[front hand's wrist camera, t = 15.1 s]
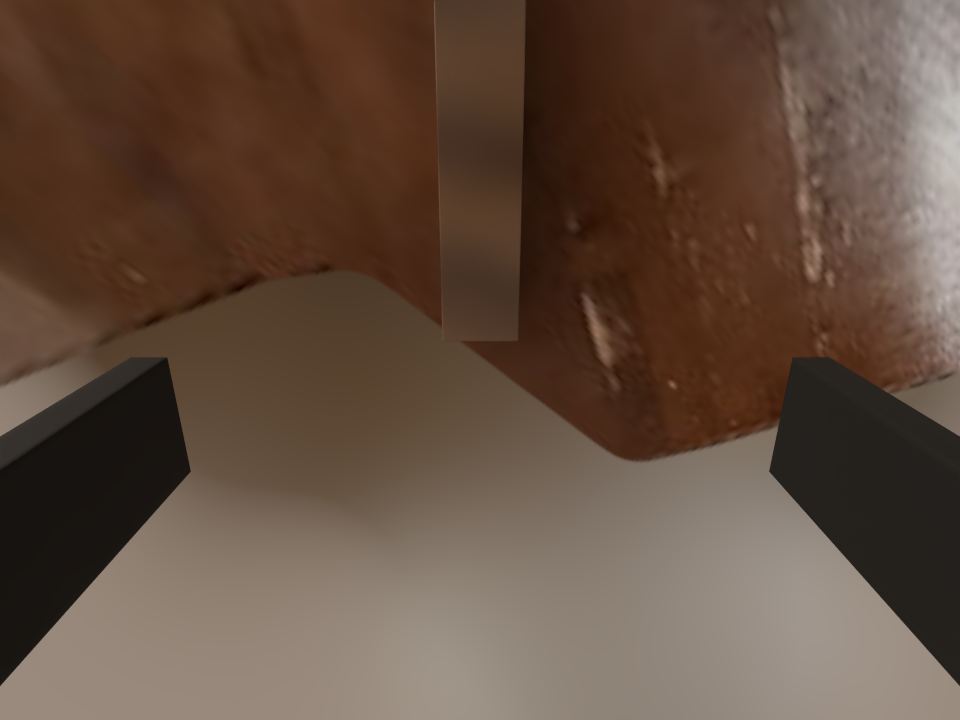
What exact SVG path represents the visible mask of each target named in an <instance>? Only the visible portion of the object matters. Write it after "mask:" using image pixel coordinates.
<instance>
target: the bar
mask: <svg viewBox="0 0 960 720" xmlns="http://www.w3.org/2000/svg"><path fill="white" fill-rule="evenodd" d="M434 31H435V69H436V108H437V146H438V185H439V224H440V262H441V301H442V339H443V341H518V338H519V296H520V254H521V211H522V169H523V127H524V84H525V42H526V0H434Z"/></svg>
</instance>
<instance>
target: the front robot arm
mask: <svg viewBox="0 0 960 720" xmlns="http://www.w3.org/2000/svg"><path fill="white" fill-rule="evenodd" d="M190 472H191V470H190V466H189V461H188V456H187V451H186V446H185V441H184V437H183V432H182V427H181V422H180V417H179V412H178V408H177V403H176V398H175V393H174V388H173V383H172V379H171V374H170V369H169V364H168V359H167V358H129V359H128V360H126V361H124V362H123V363H121V364H119V365H118V366H116V367H114V368H113V369H111V370H109V371H108V372H106V373H104V374H103V375H101V376H99V377H98V378H96V379H94V380H93V381H91V382H89V383H88V384H86V385H85V386H83V387H81V388H80V389H78V390H76V391H75V392H73V393H71V394H70V395H68V396H66V397H65V398H63V399H61V400H60V401H58V402H56V403H55V404H53V405H52V406H50V407H48V408H47V409H45V410H43V411H42V412H40V413H38V414H37V415H35V416H33V417H32V418H30V419H29V420H27V421H25V422H24V423H22V424H20V425H19V426H17V427H15V428H14V429H12V430H10V431H9V432H7V433H5V434H4V435H2V436H0V686H1V684H2V683H3V682H4V681H5V680H6V679H7V678H8V677H9V675H10V674H11V673H12V672H13V671H14V670H15V669H16V668H17V666H18V665H19V664H20V663H21V662H22V661H23V660H24V658H25V657H26V656H27V655H28V654H29V653H30V652H31V651H32V650H33V648H34V647H35V646H36V645H37V644H38V643H39V642H40V641H41V639H42V638H43V637H44V636H45V635H46V634H47V633H48V632H49V630H50V629H51V628H52V627H53V626H54V625H55V624H56V622H57V621H58V620H59V619H60V618H61V617H62V616H63V615H64V614H65V612H66V611H67V610H68V609H69V608H70V607H71V606H72V605H73V603H74V602H75V601H76V600H77V599H78V598H79V597H80V596H81V594H82V593H83V592H84V591H85V590H86V589H87V588H88V586H89V585H90V584H91V583H92V582H93V581H94V580H95V579H96V578H97V576H98V575H99V574H100V573H101V572H102V571H103V570H104V569H105V567H106V566H107V565H108V564H109V563H110V562H111V561H112V560H113V558H114V557H115V556H116V555H117V554H118V553H119V552H120V551H121V549H122V548H123V547H124V546H125V545H126V544H127V543H128V542H129V540H130V539H131V538H132V537H133V536H134V535H135V534H136V532H137V531H138V530H139V529H140V528H141V527H142V526H143V525H144V523H145V522H146V521H147V520H148V519H149V518H150V517H151V516H152V514H153V513H154V512H155V511H156V510H157V509H158V508H159V507H160V505H161V504H162V503H163V502H164V501H165V500H166V499H167V498H168V496H169V495H170V494H171V493H172V492H173V491H174V490H175V489H176V487H177V486H178V485H179V484H180V483H181V482H182V481H183V480H184V478H185V477H186V476H187V475H188V474H189V473H190ZM769 472H770V473H771V474H772V475H773V476H774V477H775V478H776V480H777V481H778V482H779V483H780V484H781V485H782V486H783V487H784V489H785V490H786V491H787V492H788V493H789V494H790V495H791V496H792V498H793V499H794V500H795V501H796V502H797V503H798V504H799V505H800V507H801V508H802V509H803V510H804V511H805V512H806V513H807V514H808V516H809V517H810V518H811V519H812V520H813V521H814V522H815V523H816V525H817V526H818V527H819V528H820V529H821V530H822V531H823V532H824V534H825V535H826V536H827V537H828V538H829V539H830V540H831V542H832V543H833V544H834V545H835V546H836V547H837V548H838V549H839V551H840V552H841V553H842V554H843V555H844V556H845V557H846V558H847V559H848V561H849V562H850V563H851V564H852V565H853V566H854V567H855V569H856V570H857V571H858V572H859V573H860V574H861V575H862V576H863V578H864V579H865V580H866V581H867V582H868V583H869V584H870V585H871V587H872V588H873V589H874V590H875V591H876V592H877V593H878V594H879V595H880V597H881V598H882V599H883V600H884V601H885V602H886V603H887V604H888V606H889V607H890V608H891V609H892V610H893V611H894V612H895V614H896V615H897V616H898V617H899V618H900V619H901V620H902V621H903V623H904V624H905V625H906V626H907V627H908V628H909V629H910V630H911V632H912V633H913V634H914V635H915V636H916V637H917V638H918V639H919V641H920V642H921V643H922V644H923V645H924V646H925V647H926V648H927V650H928V651H929V652H930V653H931V654H932V655H933V656H934V657H935V659H936V660H937V661H938V662H939V663H940V664H941V665H942V666H943V668H944V669H945V670H946V671H947V672H948V673H949V674H950V675H951V677H952V678H953V679H954V680H955V681H956V682H957V683H958V684H959V686H960V436H958V435H956V434H955V433H953V432H951V431H950V430H948V429H946V428H945V427H943V426H941V425H940V424H938V423H937V422H935V421H933V420H932V419H930V418H928V417H927V416H925V415H923V414H922V413H920V412H918V411H917V410H915V409H913V408H912V407H910V406H908V405H907V404H905V403H904V402H902V401H900V400H899V399H897V398H895V397H894V396H892V395H890V394H889V393H887V392H885V391H884V390H882V389H880V388H879V387H877V386H875V385H874V384H872V383H871V382H869V381H867V380H866V379H864V378H862V377H861V376H859V375H857V374H856V373H854V372H852V371H851V370H849V369H847V368H846V367H844V366H842V365H841V364H839V363H838V362H836V361H834V360H833V359H831V358H793V359H792V364H791V369H790V374H789V378H788V383H787V388H786V393H785V398H784V403H783V408H782V412H781V417H780V422H779V427H778V432H777V437H776V441H775V446H774V451H773V456H772V461H771V466H770V470H769Z"/></svg>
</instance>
